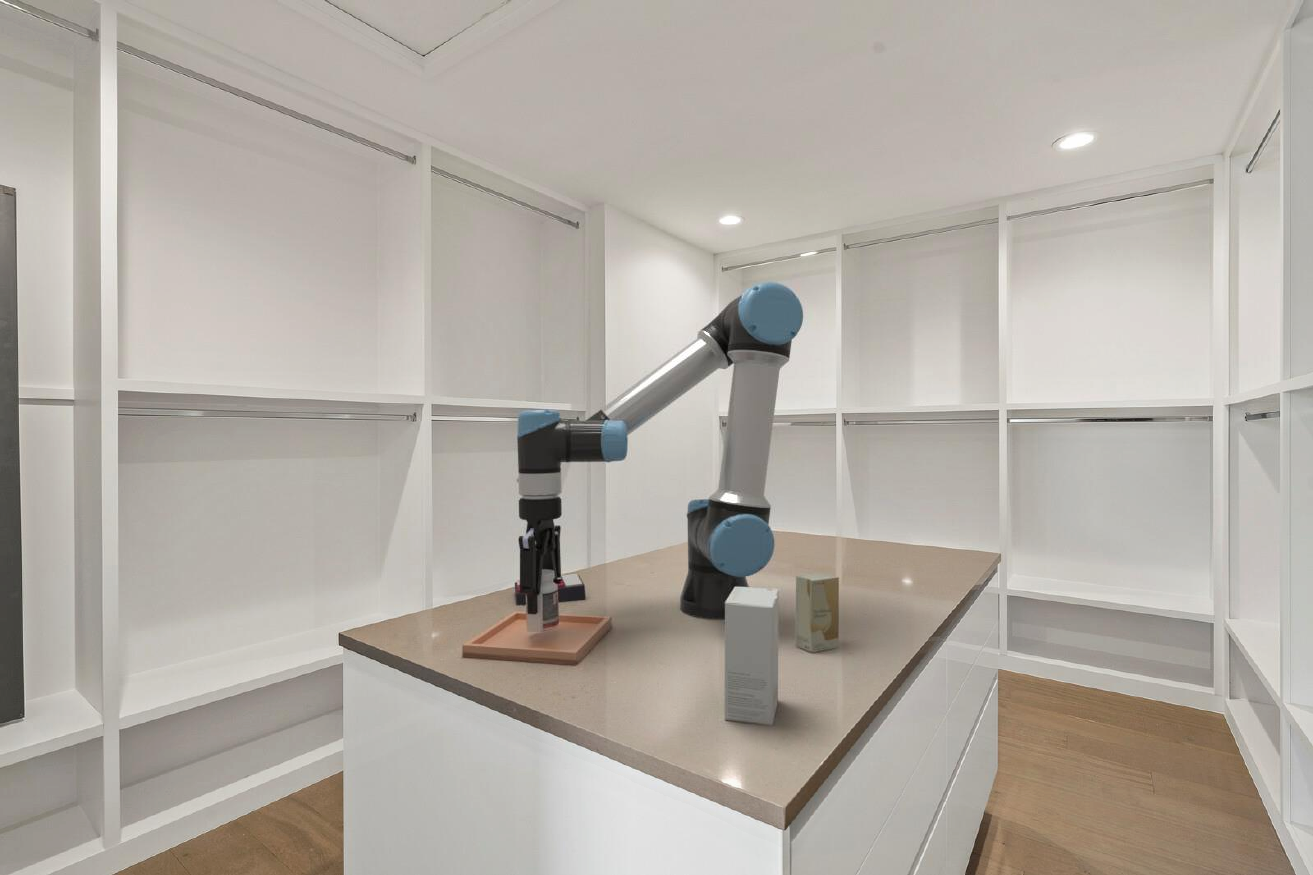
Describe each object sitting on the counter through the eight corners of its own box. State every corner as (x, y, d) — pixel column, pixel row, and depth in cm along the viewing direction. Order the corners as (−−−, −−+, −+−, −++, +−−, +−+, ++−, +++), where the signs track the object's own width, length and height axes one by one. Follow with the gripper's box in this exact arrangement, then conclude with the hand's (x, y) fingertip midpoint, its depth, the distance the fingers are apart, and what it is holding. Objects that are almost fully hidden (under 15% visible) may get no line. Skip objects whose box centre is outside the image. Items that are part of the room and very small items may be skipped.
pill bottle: (562, 622, 116) (561, 568, 116) (554, 632, 111) (553, 575, 110) (531, 622, 117) (530, 568, 117) (522, 632, 111) (521, 575, 111)
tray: (611, 627, 121) (611, 616, 121) (575, 665, 102) (575, 652, 102) (514, 621, 126) (514, 611, 126) (462, 657, 106) (462, 645, 106)
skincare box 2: (811, 654, 106) (811, 580, 106) (794, 646, 110) (793, 575, 109) (840, 647, 109) (840, 576, 108) (823, 640, 112) (822, 571, 112)
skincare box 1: (734, 695, 90) (733, 585, 90) (781, 700, 88) (780, 588, 88) (723, 721, 82) (721, 600, 81) (775, 728, 80) (773, 604, 80)
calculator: (514, 578, 148) (578, 571, 152) (515, 597, 148) (579, 589, 152) (515, 590, 137) (584, 581, 141) (517, 610, 138) (586, 601, 141)
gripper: (541, 491, 123) (543, 610, 124) (496, 502, 105) (498, 641, 105) (577, 491, 122) (579, 611, 122) (538, 502, 104) (541, 644, 104)
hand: (542, 625), depth 114 cm, fingers closed on pill bottle, 6 cm apart
